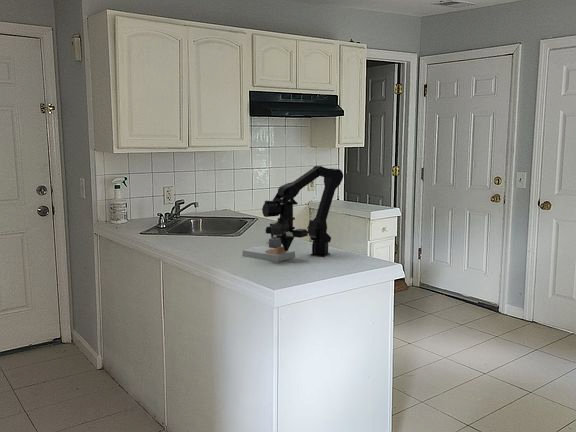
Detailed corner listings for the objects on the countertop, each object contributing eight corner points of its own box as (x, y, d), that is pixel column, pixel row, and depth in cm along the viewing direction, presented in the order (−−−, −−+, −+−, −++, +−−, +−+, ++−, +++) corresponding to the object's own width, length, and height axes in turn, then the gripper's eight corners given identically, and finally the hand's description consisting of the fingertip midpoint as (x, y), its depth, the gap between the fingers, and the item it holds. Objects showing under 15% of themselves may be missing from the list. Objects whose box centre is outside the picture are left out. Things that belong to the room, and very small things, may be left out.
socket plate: (294, 256, 245) (294, 251, 244) (278, 261, 235) (278, 256, 235) (259, 251, 256) (259, 245, 256) (242, 255, 247) (242, 250, 246)
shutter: (286, 251, 244) (286, 246, 243) (277, 253, 238) (277, 248, 238) (274, 249, 247) (274, 244, 247) (265, 251, 242) (265, 247, 242)
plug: (281, 251, 256) (281, 235, 255) (275, 252, 253) (275, 236, 252) (274, 250, 259) (274, 234, 258) (268, 251, 256) (268, 235, 254)
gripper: (257, 215, 236) (257, 251, 238) (293, 219, 225) (293, 257, 228) (273, 212, 245) (273, 247, 247) (308, 216, 234) (308, 252, 237)
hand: (286, 251), depth 240 cm, fingers closed
